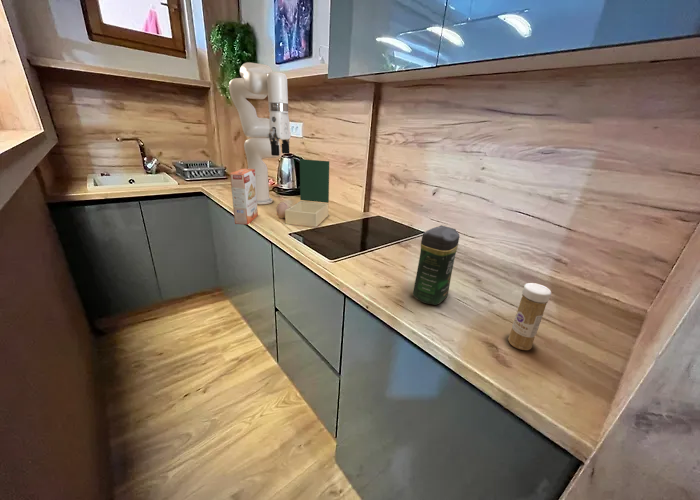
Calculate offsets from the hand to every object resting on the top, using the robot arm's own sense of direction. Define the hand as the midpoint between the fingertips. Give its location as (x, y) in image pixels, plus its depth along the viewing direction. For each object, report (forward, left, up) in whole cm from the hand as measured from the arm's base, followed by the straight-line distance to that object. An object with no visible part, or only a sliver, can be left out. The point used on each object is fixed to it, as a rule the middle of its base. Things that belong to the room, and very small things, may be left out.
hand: (280, 154), depth 125 cm
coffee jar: (+64, -49, -28) cm, 85 cm away
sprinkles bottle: (+82, -63, -28) cm, 107 cm away
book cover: (+11, +11, -12) cm, 19 cm away
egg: (0, 0, -28) cm, 28 cm away
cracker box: (-13, -8, -28) cm, 32 cm away
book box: (+11, +2, -27) cm, 29 cm away
